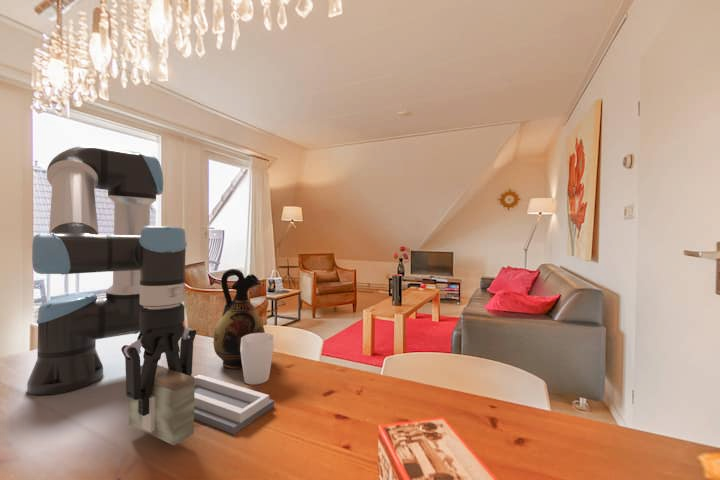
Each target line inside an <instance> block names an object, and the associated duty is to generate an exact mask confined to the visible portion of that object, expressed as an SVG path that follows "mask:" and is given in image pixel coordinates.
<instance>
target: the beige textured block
mask: <svg viewBox="0 0 720 480" xmlns="http://www.w3.org/2000/svg"><path fill="white" fill-rule="evenodd" d="M142 367H143V364H142V365H140V368H141V372H142ZM194 392H195V376H193V375H191V376H189V375H186V374H183V373H180V372H177V371H174V370H171V369H168V367H164V366H161V365H159V364H157V369H156V374H155V379H154V383H153V388H152V393H151V395H153V396H155V430H154V431H152V432H149V431H147V430H145V429H143V428H142V415H140V414H139V413H138V400H134V399H132V398H129V397H128V398H129V399H128V401H129V403H128V404H129V406H128V412H129V413H128V424H129V425H130V426H133V427H134V428H136V429H139V430H141V431H143V432H145V433H147V434H148V435H151V436H153V437H155V438H157V439H160V440H161V441H164V442H165V443H168V444H169V445H171V446H177V444H179V443H181V442H182V441H184V440H186V439H188V438H189V437H190V436H193V435H194V434H195V429H194V428H195V419H194Z"/></svg>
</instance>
